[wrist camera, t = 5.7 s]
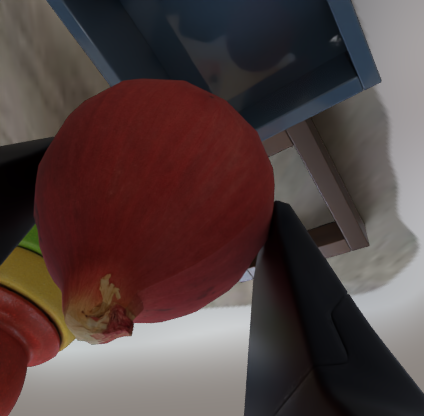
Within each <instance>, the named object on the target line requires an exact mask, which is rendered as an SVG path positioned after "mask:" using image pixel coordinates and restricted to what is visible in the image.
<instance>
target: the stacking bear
mask: <svg viewBox="0 0 424 416" xmlns="http://www.w3.org/2000/svg"><path fill="white" fill-rule="evenodd" d="M74 339H76V337H75V336H74V335H73V334H72V332H71V331H70V330H69V329H68V327H67V325H66V323H65V318H64V315H63V312H62V292H61V290H60V289H59V288H58V286H57V285H56V284H55V283H54V281H53V280H52V278H51V276H50V274H49V272H48V270H47V267H46V264H45V261H44V258H43V255H42V252H41V250H40V247H39V239H38V230H37V227H36V224H35V225H34V226H33V228H32V229H31V230H30V231H29V232H28V234H27V235H26V236H25V237H24V238H23V239H22V241H21V242H20V243H19V244H18V245H17V247H16V248H15V249H14V250H13V251H12V253H11V254H10V255H9V256H8V257H7V259H6V260H5V261H4V262H3V263H2V265H1V266H0V416H8V415H9V413H10V412H11V410H12V409H13V407H14V405H15V404H16V402H17V399H18V397H19V395H20V393H21V390H22V387H23V384H24V381H25V376H26V371H27V367H32V366H36V365H39V364H42V363H44V362H46V361H48V360H50V359H52V358H53V357H55V356H56V355H57V353H58V352H59V351H61V350H63V349H64V348H66V347H67V346H68V345H69V344H70V343H71V342H72V341H73V340H74Z"/></svg>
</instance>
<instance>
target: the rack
mask: <svg viewBox="0 0 424 416" xmlns="http://www.w3.org/2000/svg"><path fill="white" fill-rule="evenodd" d="M262 144H263V146H264V149H265V151H266V153H267V156H268V157H269V156H272V155H274V154H276V153H278V152H280V151H282V150H284V149H286V148H289V147H291V146H293V144H294V146H295V148H296V150H297V151H298V153H299V155H300V157H301V159H302V161H303V162H304V164H305V166H306V168H307V170H308V172H309V173H310V175H311V177H312V179H313V181H314V183H315V184H316V186H317V188H318V190H319V192H320V194H321V195H322V197H323V199H324V201H325V203H326V205H327V206H328V208H329V210H330V212H331V214H332V216H333V217H334V219H335V221H336V222H333V223H330V224H327V225H324V226H321V227H318V228H315V229H312V230H309V231H307V232H308V233H309V235H310V236H311V238H312V239H313V241H314V242H315V244H316V245H317V247H318V248H319V250H320V251H321V253H322V254H323V256H324V257H325V258H329V257H333V256H336V255H340V254H343V253H347V252H350V251H351V250H352V251H354V250H357V249H361V248H364V247H368V246H369V241H368V237H367V233H366V229H365V225H364V223H363V221H362V219H361V217H360V215H359V213H358V211H357V209H356V207H355V205H354V203H353V201H352V199H351V197H350V195H349V193H348V191H347V189H346V187H345V185H344V183H343V181H342V179H341V177H340V175H339V173H338V171H337V169H336V167H335V165H334V163H333V161H332V159H331V157H330V155H329V153H328V151H327V149H326V147H325V145H324V143H323V141H322V139H321V137H320V135H319V133H318V131H317V129H316V127H315V125H314V123H313V121H312V120H311V118H308V119H306V120H304V121H302V122H300V123H298V124H296V125H294V126H292V127H290V128H288V129H286V130H284V131H282V132H280V133H278V134H276V135H274V136H272V137H270V138H268V139H266V140H264V141H262ZM257 257H258V254H257V255H256V257H255V258H254V260H253V261H252V263H251V264H250V266H249V267H248V269H247V270H246V272H245V273H244V275H243V277H242V278H241V279H240V282H245V281H248V280H252V279H254V272H255V267H256V262H257Z"/></svg>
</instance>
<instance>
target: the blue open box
mask: <svg viewBox="0 0 424 416" xmlns="http://www.w3.org/2000/svg"><path fill="white" fill-rule="evenodd" d="M46 1H47V2H48V3H49V5H50V6H51V7H52V9H53V10H54V12H55V13H56V14H57V16H58V17H59V18H60V20H61V21H62V22H63V24H64V25H65V26H66V28H67V29H68V30H69V32H70V33H71V34H72V36H73V37H74V38H75V40H76V41H77V42H78V44H79V45H80V46H81V48H82V49H83V50H84V52H85V53H86V54H87V56H88V57H89V58H90V60H91V61H92V62H93V64H94V65H95V66H96V68H97V69H98V70H99V72H100V73H101V74H102V76H103V77H104V78H105V80H106V81H107V82H108V84H109V85H110V86H111V87H112V86H114V85H116V84H118V83H120V82H122V81H124V80H133V79H163V80H183V81H187V82H189V83H191V84H193V85H195V86H197V87H199V88H201V89H203V90H205V91H207V92H210V93H212V94H214V95H216V96H218V97H220V98H222V99H224V100H226V101H227V102H228V103H229V104H230V105H231V106H232V107H233V108H234V109H235V110H236V111H237V112H238V113H239V114H240V115H241V116H242V117H243V118H244V119H245V120H246V121H247V122H248V123H249V124H250V125H251V126H252V127H253V128H254V129H255V130H256V131H257V132H258V135H259V137H260V139H261V142H262V141H264V140H266V139H268V138H270V137H272V136H274V135H276V134H278V133H280V132H282V131H284V130H286V129H288V128H290V127H292V126H294V125H296V124H298V123H300V122H302V121H304V120H306V119H308V118H310V117H312V116H314V115H316V114H318V113H320V112H322V111H324V110H326V109H328V108H330V107H332V106H334V105H336V104H338V103H340V102H342V101H344V100H346V99H348V98H350V97H352V96H354V95H356V94H358V93H360V92H362V91H363V89H364V90H366V89H368V88H370V87H372V86H374V85H376V84H378V83H380V82H381V78H380V75H379V73H378V70H377V67H376V65H375V62H374V59H373V57H372V54H371V51H370V49H369V46H368V44H367V41H366V38H365V36H364V33H363V30H362V28H361V25H360V23H359V20H358V17H357V15H356V12H355V10H354V7H353V4H352V2H351V0H46Z"/></svg>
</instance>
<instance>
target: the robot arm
mask: <svg viewBox="0 0 424 416" xmlns="http://www.w3.org/2000/svg"><path fill="white" fill-rule="evenodd" d="M53 139H54V137H49V138H44V139H38V140H32V141H27V142H21V143H16V144H10V145H4V146H0V266H1V265H2V263H3V262H4V261H5V260H6V259H7V257H8V256H9V255H10V254H11V253H12V251H13V250H14V249H15V248H16V247H17V245H18V244H19V243H20V242H21V241H22V239H23V238H24V237H25V236H26V235H27V234H28V232H29V231H30V230H31V229H32V228H33V226H34V225H35V224H36V223H35V219H34V200H35V184H36V178H37V171H38V165H39V163H40V162H41V160H42V158H43V156H44V154H45V152H46V150H47V148H48V147H49V145H50V144H51V142H52V141H53ZM244 416H424V393H423V392H422V391H421V390H420V388H419V387H418V386H417V384H416V383H415V382H414V381H413V379H412V378H411V377H410V376H409V374H408V373H407V372H406V371H405V369H404V368H403V367H402V366H401V364H400V363H399V362H398V361H397V359H396V358H395V357H394V355H393V354H392V353H391V352H390V350H389V349H388V348H387V347H386V345H385V344H384V343H383V341H382V340H381V339H380V338H379V336H378V335H377V334H376V333H375V331H374V330H373V328H372V327H371V326H370V324H369V323H368V321H367V320H366V318H365V317H364V316H363V314H362V313H361V311H360V310H359V308H358V307H357V306H356V304H355V303H354V301H353V299H352V298H351V296H350V295H349V294H347V291H346V289H345V288H344V286H343V285H342V283H341V282H340V280H339V278H338V277H337V275H336V274H335V272H334V271H333V269H332V268H331V266H330V265H329V263H328V262H327V260H326V259H325V257H324V256H323V254H322V253H321V251H320V250H319V248H318V247H317V245H316V244H315V242H314V241H313V239H312V238H311V236H310V235H309V233H308V232H307V230H306V229H305V227H304V226H303V224H302V223H301V221H300V220H299V218H298V216H297V215H296V213H295V212H294V210H293V209H292V207H291V206H290V205H289V204H287V203H284V202H280V201H275V202H274V207H273V216H272V222H271V227H270V232H269V237H268V240H267V241H266V243H265V244H264V245H263V247H262V248H261V250H260V251H259V252H258V257H257V262H256V267H255V272H254V280H253V293H252V308H251V322H250V338H249V352H248V366H247V380H246V395H245V410H244Z"/></svg>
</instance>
